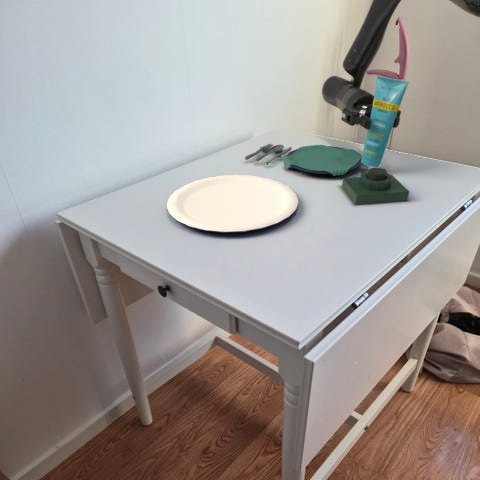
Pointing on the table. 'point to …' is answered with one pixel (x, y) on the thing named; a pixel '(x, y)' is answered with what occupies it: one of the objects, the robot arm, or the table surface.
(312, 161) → the cutlery set
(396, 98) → the tube
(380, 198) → the pump base
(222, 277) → the table surface
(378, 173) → the button
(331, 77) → the robot arm
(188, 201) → the plate
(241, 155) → the table surface
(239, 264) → the table surface
